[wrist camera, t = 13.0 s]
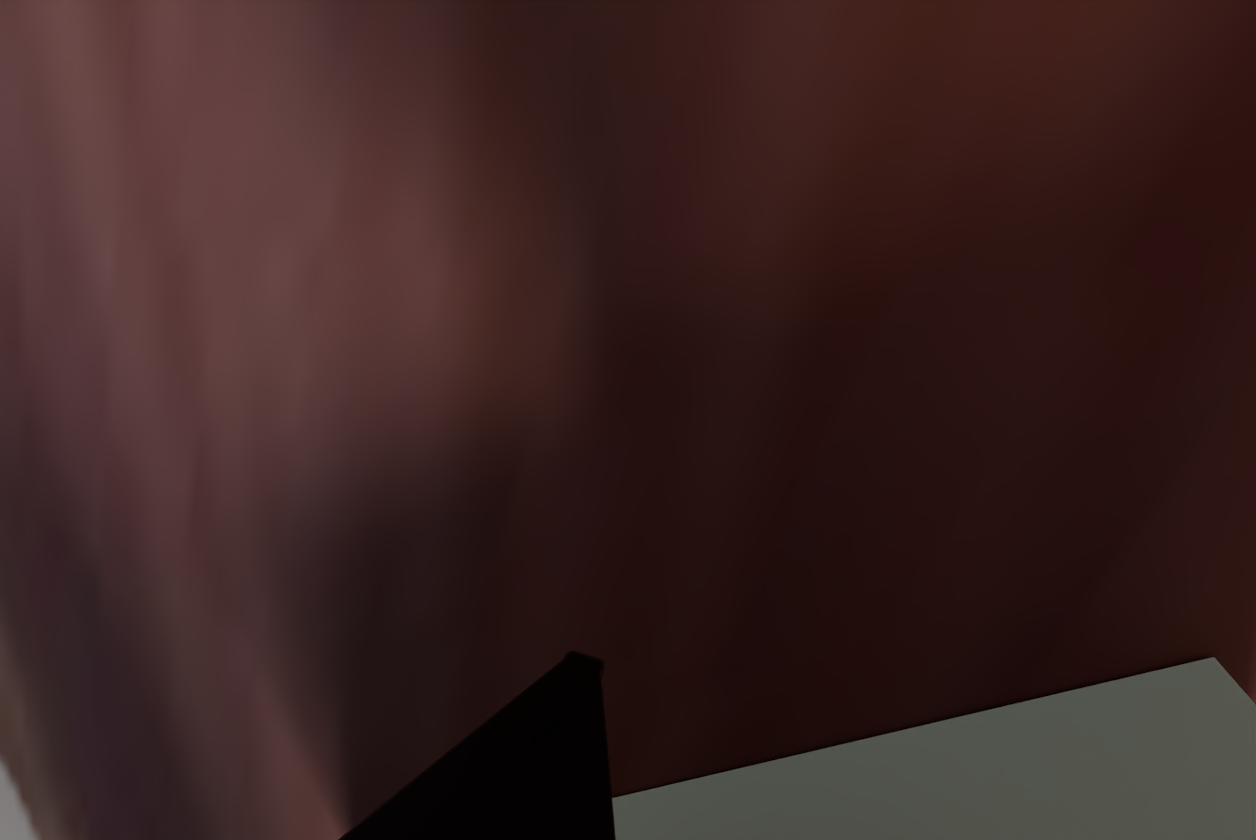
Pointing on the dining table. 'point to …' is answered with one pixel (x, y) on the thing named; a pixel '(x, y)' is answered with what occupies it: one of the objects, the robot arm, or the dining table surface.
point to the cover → (999, 774)
